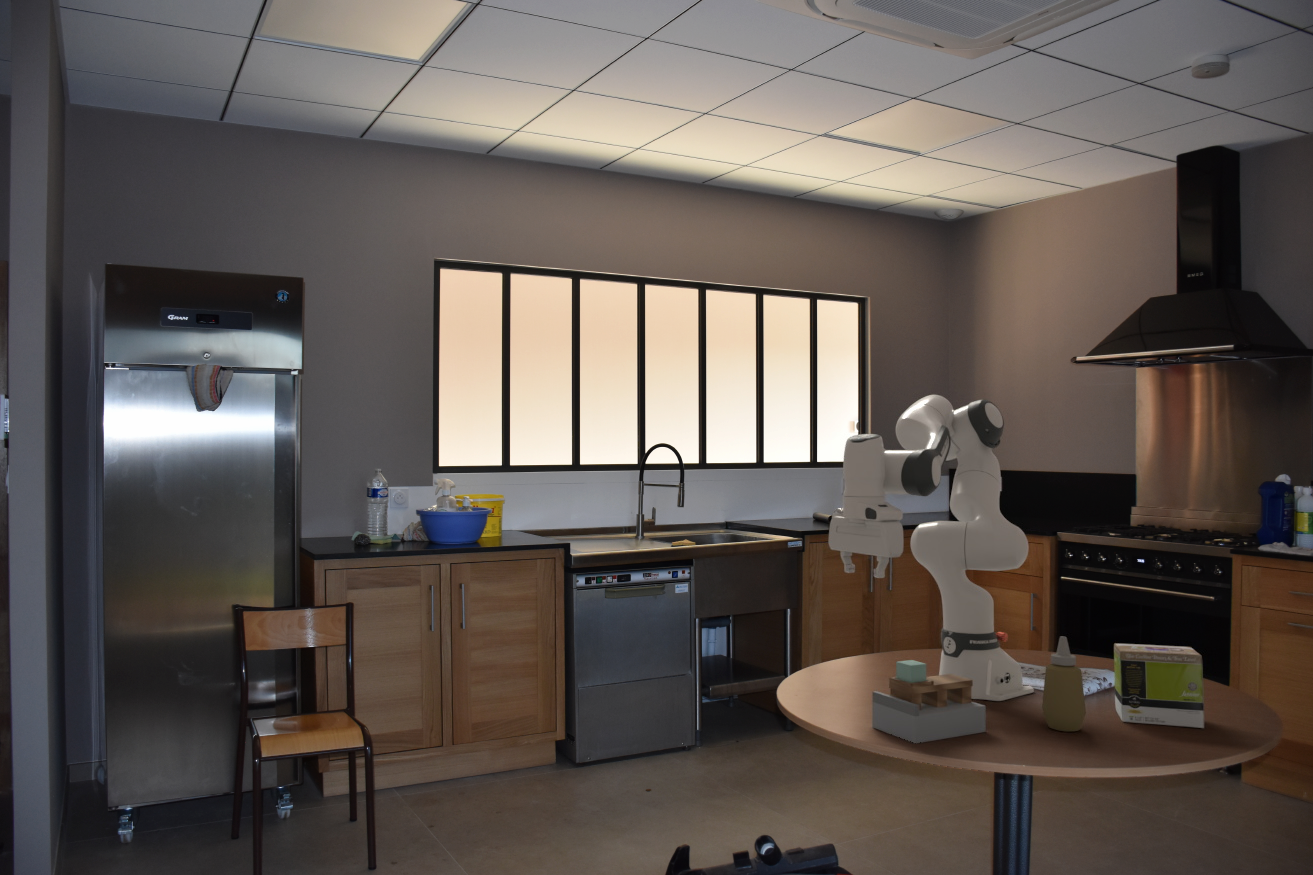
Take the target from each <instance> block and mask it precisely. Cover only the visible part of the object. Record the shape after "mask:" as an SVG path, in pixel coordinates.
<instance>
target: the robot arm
mask: <svg viewBox="0 0 1313 875" xmlns="http://www.w3.org/2000/svg"><path fill="white" fill-rule="evenodd" d="M1004 420H1005V419H1004V417H1003V415H1002V412H1001V411H1000V409H999V408H998V406H997V405H996V404H995V403H993V402H992V401H990V400H988V399H978V400H975V401H971V402H969V404H967V405H966V404H965V405H964V406H961V407H960V408H957V409H954V407H953V405H952V403H951V402H950V401H949V399H947V398H945V397H944V396H943V395H938V394H930V395H926V396H924V397H922V398H920V399H918V400H917V401H915V402H914V403H912V404H911V405H910V406H908V408H907V409H906V410H905V411H903V413H901V415H900V416H899V417H898V420H897V422H896V425H895V436H896V439H897V441H898V443H899V445H900V446H901V447H902V448H903V449H893V450H892V449H886V448H884V447H885V446H884V442H883V441H884V440H883V438H882V436H881V435H879V434H875V433H861V434H854V435H851V436H850V437H848V438H847V439H846V442H845V445H844V452H843V460H842V461H843V464H842V466H843V468H842V472H843V473H842V477H843V479H844V491H843V494H842V508H841V507H840V508H839V507H838V508H836V509H835V510H834V511H833V513H832V514H831V520H830V522H829V530H828V531H829V532H828V546H829V548H830V550H832V551H839V552H840V558H841V561H842V563H843V565H844V566H843V567H844V569H843V570H844V573H847V574H852V573H853V574H854V573H855V572H856V565H855V564H854V563H853V561H852V556H853V553H854V554H861V555H869V556H876V562H877V565H876V568H873V577H874V578H877V579H884V578H885V577H886V574H885V573H886V569H887V566H888V564H889V562H890V558H899V557H901V556H902V554H903V552H904V528H903V524H902V523H901V521H902V520H903V518H904V511H903V510H902V509H900V508H898V507H896V506H895V505H892V503H890V502H888V501H886V494H887V495H911V496H916V497H917V496H918V497H928V496H929V495H931V494H932V493H934V492H935V491H936V490H937V489H938V487H939V485H940V484H941V483H940V482H941V479H942V473H943V469H944V467H945V466H944V465H945V464H946V463H949V462H950V461H952V460H956V459H957V460H956V461H957V467H956V470H955V472H954V473H955V474H954V477H953V483H952V489H951V495H950V499H949V507H950V508H949V509H950V511H951V513H952V515H953V516H954V517H955V518H956V519H957V521H953V520H935V521H929V522H923V523H919V525H917V526H916V527H915V529H914V530H913V532H912V534H911V537H910V549H911V550H910V551H911V554H912V555H913V557H914V558H915V560H916V561H917V562H918V563H919V564H920V565H921V566H923V567H924V569H926V570H927V571H928V572H929V573H930V575H931V576H932V577H933V579H934V581H935V582H936V585H938V586H937V587H938V589H939V591H940V596H941V604H942V606H941V607H942V618H943V620H942V628H941V629H940V630H941V633H940V643H941V644H940V645H941V646H942V650H941V654H940V663H939V673H938V675H946V674H952V675H956V676H960V677H963V678H967V679H970V680H973V686H971V700H972V699H973V700H987V701H992V702H993V701H994V702H1002V701H1005V700H1006V701H1007V700H1009V699H1014V698H1017V697H1021V696H1025V695H1028V694H1032V693H1034V692H1035V691H1034V690H1035V689H1034V687H1033V686H1031V685H1029V686H1023V683H1024V682H1023V672H1022V668H1021V665H1020V664H1019V663H1018V662H1017V661H1016V660H1015V659H1014V658H1013V657H1011V656H1010V654H1008V653H1007V652H1006V651H1004V650H1003V649H1002V648H1001V647H1000V646H1001V645H1000V641H1002V642H1004V643H1006V642H1007V641H1008V639H1009V634H1008V633H1007V632H1002V631H998V632H996V631H995V626H994V625H995V619H994V618H995V616H994V614H995V613H994V612H995V611H994V610H995V609H994V606H995V605H994V604H995V602H994V598H993V597H992V595H991V593H990V592H988V590H987V589H985V588H983V587H981V586H980V585H977V584H975V583H974V582H972V581H971V580H969V578H968V577H967V573H966V571H967V570H971V571H972V570H974V571H989V572H990V571H991V572H1001V571H1009V570H1017V569H1019V568H1020V567H1021V566H1023V565H1024V562H1025V561H1026V560H1027V558H1028V555H1029V541H1028V538H1027V536H1026V534H1025V532H1024V531H1023V530H1022V529H1021V528H1020V527H1019V526H1017V525H1016V524H1013V523H1011V522H1010V521H1009V520H1007V518H1005V517H1004V515H1003V514H1002V512H1001V510H1000V496H1001V484H1002V477H1001V476H1002V475H1001V467H1000V463H999V460H998V458H997V456H996V455H995V454H994V453H993V451H992V450H993V449H996V448H998V446H1000V444H1001V438H1002V436H1003V432H1004V429H1005V428H1004V426H1005V421H1004Z"/></svg>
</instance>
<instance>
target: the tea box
mask: <svg viewBox="0 0 1313 875" xmlns="http://www.w3.org/2000/svg"><path fill="white" fill-rule="evenodd" d="M1202 656H1203V655H1201V654H1200V653H1199V652H1197V651H1196V650H1195V649H1194V648H1192V646H1180V645H1179V646H1177V645H1176V646H1175V645H1161V644H1160V645H1156V644H1135V643H1116V642H1115V643H1114V644H1113V662H1114V664H1113V667H1114V704H1115V711H1116V712H1117V715H1118V716H1119V718H1120V720H1121V721H1122V722H1123V723H1136V724H1147V725H1161V726H1162V725H1163V726H1175V727H1185V728H1186V727H1187V728H1196V729H1197V728H1200V729H1205V707H1204V704H1205V703H1204V677H1203V676H1204V674H1203V672H1204V671H1203V670H1204V668H1203V657H1202Z"/></svg>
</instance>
